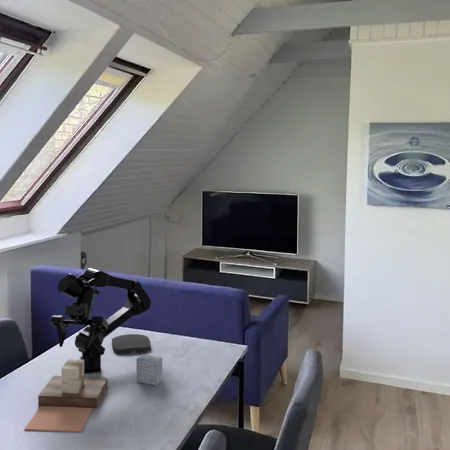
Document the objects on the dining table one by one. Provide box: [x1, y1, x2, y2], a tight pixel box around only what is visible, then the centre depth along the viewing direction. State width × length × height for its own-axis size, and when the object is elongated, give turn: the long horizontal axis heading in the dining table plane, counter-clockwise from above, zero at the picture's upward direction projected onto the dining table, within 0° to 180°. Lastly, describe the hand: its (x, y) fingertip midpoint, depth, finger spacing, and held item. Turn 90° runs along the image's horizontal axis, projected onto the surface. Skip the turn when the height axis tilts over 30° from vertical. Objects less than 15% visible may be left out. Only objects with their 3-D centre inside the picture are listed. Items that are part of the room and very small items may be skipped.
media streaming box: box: [111, 333, 152, 355], centre depth 210 cm, size 15×15×3 cm
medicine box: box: [135, 353, 163, 387], centre depth 179 cm, size 8×4×9 cm, turn 71°
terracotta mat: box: [24, 406, 94, 433], centre depth 154 cm, size 13×16×1 cm
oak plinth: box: [37, 375, 109, 410], centre depth 168 cm, size 14×18×4 cm
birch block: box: [61, 358, 85, 393], centre depth 166 cm, size 7×5×8 cm
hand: (73, 347), depth 173 cm, fingers open, 9 cm apart
